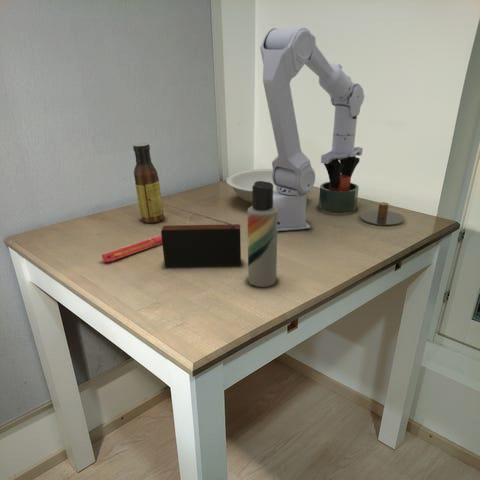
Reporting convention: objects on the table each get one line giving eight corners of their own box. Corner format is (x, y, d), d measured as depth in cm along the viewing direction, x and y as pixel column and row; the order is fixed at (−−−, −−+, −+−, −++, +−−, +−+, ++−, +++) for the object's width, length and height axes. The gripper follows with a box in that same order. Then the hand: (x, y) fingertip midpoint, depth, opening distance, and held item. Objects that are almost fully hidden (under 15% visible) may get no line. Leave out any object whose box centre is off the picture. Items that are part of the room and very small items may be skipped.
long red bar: (100, 263, 107) (109, 263, 103) (97, 254, 106) (106, 253, 103) (182, 234, 121) (193, 233, 118) (180, 226, 121) (191, 224, 117)
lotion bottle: (259, 272, 99) (259, 177, 89) (281, 279, 96) (284, 181, 86) (242, 282, 96) (240, 183, 85) (265, 290, 93) (265, 189, 82)
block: (340, 194, 128) (341, 179, 126) (328, 190, 131) (330, 176, 129) (349, 191, 131) (351, 176, 128) (338, 188, 133) (339, 173, 131)
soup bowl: (215, 211, 134) (214, 188, 130) (240, 187, 153) (240, 166, 150) (299, 218, 128) (300, 193, 124) (313, 192, 147) (315, 171, 144)
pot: (325, 216, 129) (327, 193, 125) (314, 204, 137) (315, 182, 134) (361, 213, 130) (364, 190, 126) (348, 202, 139) (350, 180, 135)
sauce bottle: (166, 216, 131) (158, 141, 120) (161, 224, 126) (152, 146, 115) (143, 216, 132) (133, 141, 121) (137, 223, 126) (126, 146, 116)
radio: (240, 260, 105) (239, 193, 97) (240, 266, 102) (239, 198, 95) (157, 261, 105) (149, 195, 97) (155, 267, 103) (147, 199, 95)
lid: (369, 230, 119) (372, 212, 117) (353, 215, 128) (355, 198, 126) (411, 226, 120) (414, 208, 118) (392, 212, 130) (394, 195, 127)
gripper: (337, 140, 116) (333, 194, 124) (374, 132, 124) (367, 183, 131) (316, 136, 121) (313, 188, 128) (352, 128, 129) (347, 178, 136)
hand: (339, 186), depth 130 cm, fingers closed on block, 4 cm apart
